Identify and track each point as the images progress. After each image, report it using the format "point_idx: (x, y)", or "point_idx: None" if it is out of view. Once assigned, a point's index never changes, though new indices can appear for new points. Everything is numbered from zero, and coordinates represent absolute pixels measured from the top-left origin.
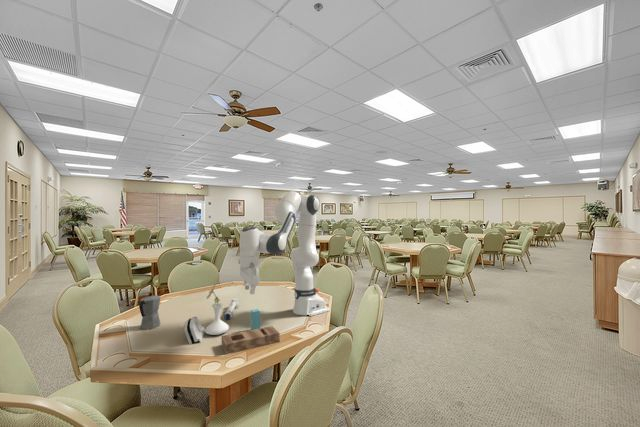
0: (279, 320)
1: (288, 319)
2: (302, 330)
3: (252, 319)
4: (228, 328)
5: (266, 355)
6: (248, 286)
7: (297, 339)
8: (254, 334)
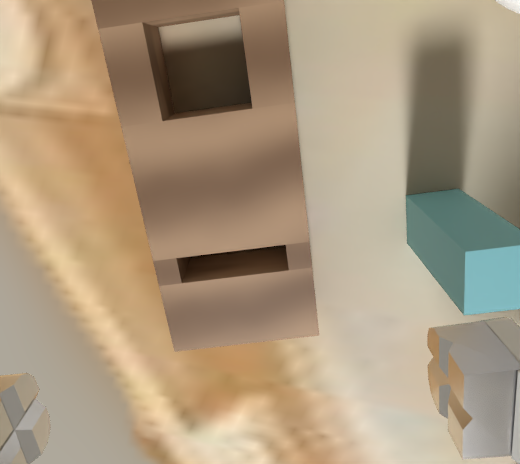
0: None
1: None
2: (290, 457)
3: (449, 223)
4: (517, 10)
5: (29, 223)
6: (456, 429)
7: (181, 407)
8: (209, 198)
